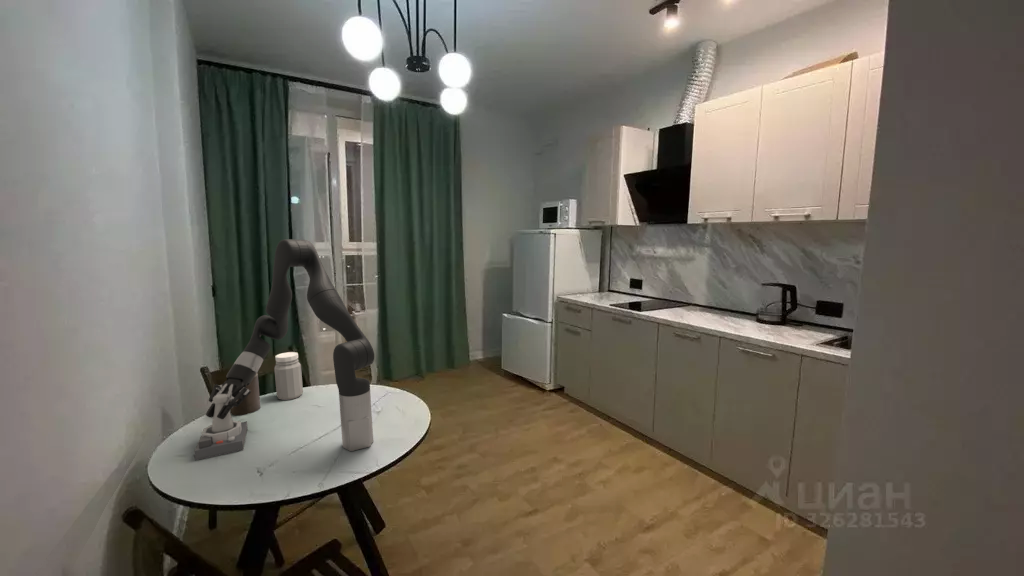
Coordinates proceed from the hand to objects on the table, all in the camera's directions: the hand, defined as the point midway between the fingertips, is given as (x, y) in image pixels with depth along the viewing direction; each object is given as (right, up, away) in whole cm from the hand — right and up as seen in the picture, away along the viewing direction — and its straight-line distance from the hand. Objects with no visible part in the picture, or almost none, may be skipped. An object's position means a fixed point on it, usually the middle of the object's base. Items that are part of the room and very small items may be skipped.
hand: (214, 417), depth 128 cm
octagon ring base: (+1, -10, +3) cm, 10 cm away
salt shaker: (+1, -7, +3) cm, 7 cm away
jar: (+1, -5, +43) cm, 43 cm away
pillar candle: (-9, -7, +29) cm, 32 cm away
